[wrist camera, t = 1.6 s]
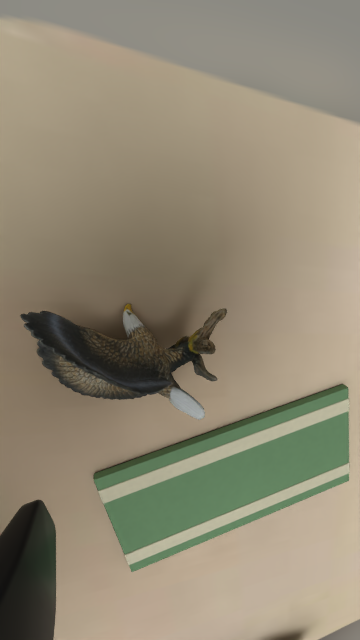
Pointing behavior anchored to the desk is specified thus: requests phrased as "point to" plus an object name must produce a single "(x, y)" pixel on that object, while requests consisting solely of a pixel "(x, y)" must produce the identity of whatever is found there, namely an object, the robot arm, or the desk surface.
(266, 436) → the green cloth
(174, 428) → the desk surface
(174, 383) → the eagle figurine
